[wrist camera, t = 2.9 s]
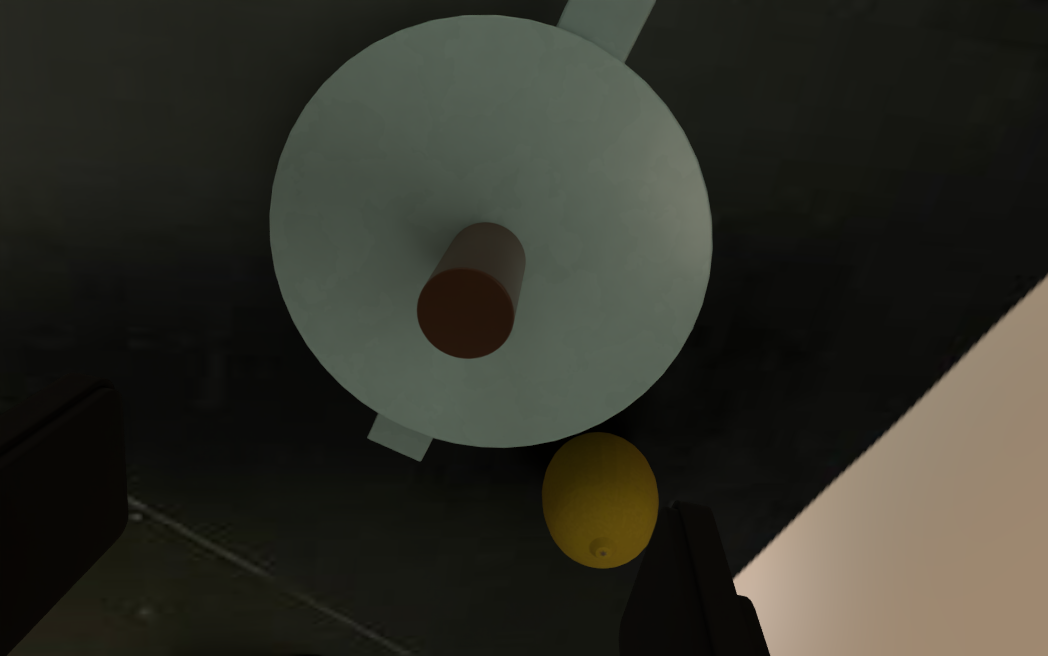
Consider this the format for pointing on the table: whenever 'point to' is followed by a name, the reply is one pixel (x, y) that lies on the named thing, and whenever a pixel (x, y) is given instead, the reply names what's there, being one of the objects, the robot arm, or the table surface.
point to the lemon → (600, 500)
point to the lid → (491, 231)
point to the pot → (613, 24)
